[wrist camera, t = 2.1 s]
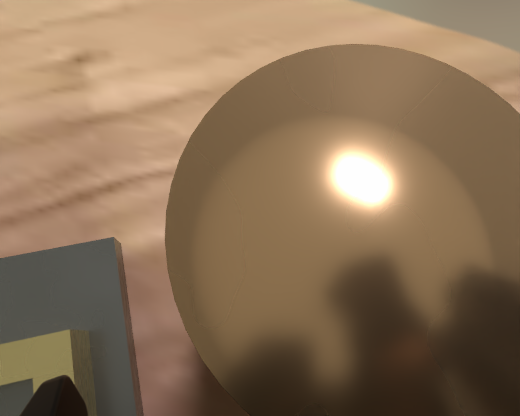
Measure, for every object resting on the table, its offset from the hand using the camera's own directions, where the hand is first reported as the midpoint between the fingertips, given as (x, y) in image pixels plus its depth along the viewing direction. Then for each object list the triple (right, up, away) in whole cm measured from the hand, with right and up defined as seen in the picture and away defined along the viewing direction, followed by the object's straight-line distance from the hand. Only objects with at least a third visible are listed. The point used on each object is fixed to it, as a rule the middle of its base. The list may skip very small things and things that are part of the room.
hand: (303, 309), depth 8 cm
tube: (-1, -2, +9) cm, 9 cm away
